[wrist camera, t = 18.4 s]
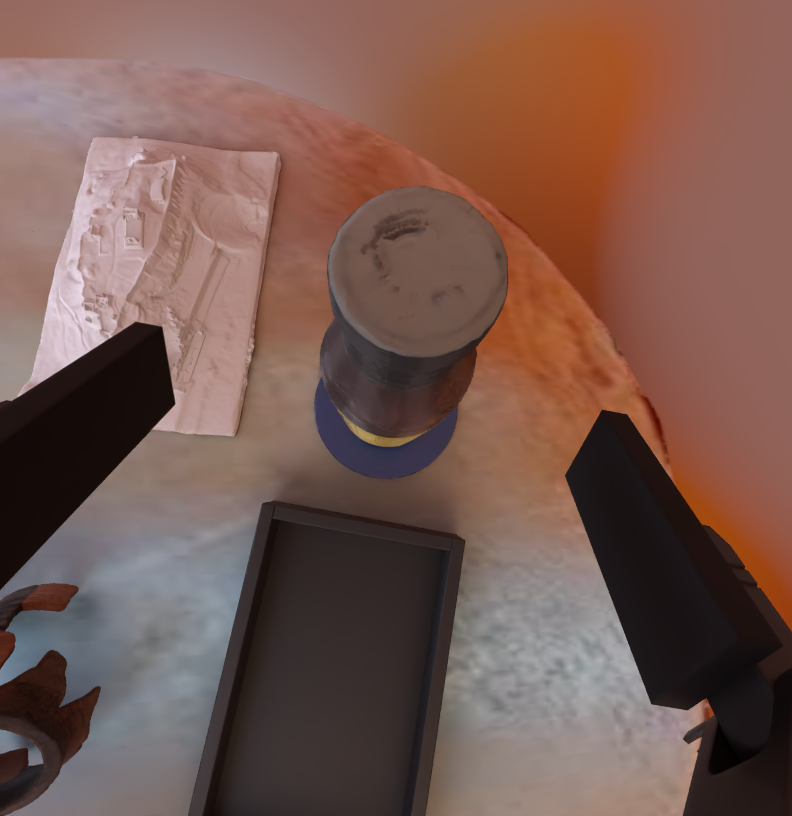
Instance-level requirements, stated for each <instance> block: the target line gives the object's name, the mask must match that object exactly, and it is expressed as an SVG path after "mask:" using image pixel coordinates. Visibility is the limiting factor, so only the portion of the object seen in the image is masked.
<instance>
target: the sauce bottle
mask: <svg viewBox="0 0 792 816" xmlns="http://www.w3.org/2000/svg"><path fill="white" fill-rule="evenodd" d="M327 276H328V284H329V293H330V299H331V306H332V311H333V314H334V316H335V318H334V320H333V321H332V322H331V324H330V325H329V327H328V329H327V331H326V333H325V335H324V338H323V341H322V344H321V350H320V370H321V375H322V379H323V383H324V386H325V388H326V390H327V393H328V395H329V397H330V399H331V400H332V402H333V403H334V405H335V407H336V408H337V410H338V412H339V414H340V415H341V416H342V418H343V419H344V421H345V422H346V424H347V425H348V427H349V428H350V430H351V431H352V432H353V433H354V434H355V435H356V436H358V437H359V438H360V439H362V440H363V441H365V442H368V443H370V444H373V445H377V446H382V447H395V446H401V445H403V444H405V443H408V442H410V441H412V440H413V439H415V438H417V437H418V436H420V435H422V434H424V433H425V432H427V431H428V430H430V429H431V428H433V427H435V426H436V425H437V424H438V423H440V422H441V421H442V420H443V419H444V418H445V417H446V416H447V415H448V414H449V413H451V412H452V410H453V409H454V408H455V407H456V406H457V405H458V404H459V402H460V401H461V399H462V398H463V396H464V394H465V392H466V391H467V389H468V387H469V385H470V382H471V380H472V377H473V373H474V368H475V362H476V356H477V352H476V347H477V346H478V344H479V343H480V342H481V341H482V339H483V338H484V337H485V336H486V334H487V333H488V332H489V330H490V329H491V327H492V326H493V325H494V323H495V321H496V320H497V318H498V316H499V314H500V312H501V310H502V308H503V305H504V302H505V299H506V296H507V290H508V260H507V254H506V251H505V248H504V245H503V242H502V240H501V238H500V236H499V235H498V233H497V231H496V230H495V228H494V226H493V225H492V224H491V223H490V222H489V221H487V220H486V219H485V218H484V217H483V216H482V214H481V213H480V212H479V211H478V210H477V209H476V208H475V207H474V206H472V205H471V204H470V203H469V202H467V201H466V200H465V199H463V198H461V197H459V196H456V195H454V194H452V193H449V192H446V191H442V190H438V189H434V188H430V187H426V186H418V187H401V188H398V189H390V190H388V191H386V192H383V193H381V194H379V195H378V196H376V197H375V198H373V199H371V200H369V201H367V202H366V203H364V204H363V205H362V206H361V207H359V208H358V209H357V210H356V211H354V212H353V213H352V214H351V215H350V216H349V217H348V219H347V220H346V221H345V222H344V223H343V225H342V226H341V228H340V229H339V231H338V233H337V235H336V237H335V240H334V242H333V244H332V246H331V248H330V251H329V255H328V266H327Z"/></svg>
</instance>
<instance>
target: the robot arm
mask: <svg viewBox="0 0 792 816" xmlns="http://www.w3.org/2000/svg"><path fill="white" fill-rule="evenodd" d="M175 404H176V403H175V397H174V392H173V386H172V380H171V374H170V368H169V362H168V356H167V351H166V345H165V339H164V333H163V327H162V326H156V325H151V324H146V323H140V322H134V323H133V324H131V325H130V326H128V327H127V328H125V329H123V330H122V331H120V332H119V333H117V334H116V335H114V336H113V337H111V338H109V339H108V340H106V341H105V342H103V343H102V344H100V345H99V346H97V347H95V348H94V349H92V350H91V351H89V352H88V353H86V354H84V355H83V356H81V357H80V358H78V359H77V360H75V361H74V362H72V363H70V364H69V365H67V366H66V367H64V368H63V369H61V370H60V371H58V372H56V373H55V374H53V375H52V376H50V377H49V378H47V379H45V380H44V381H42V382H41V383H39V384H38V385H36V386H35V387H33V388H31V389H30V390H28V391H27V392H25V393H24V394H22V395H21V396H19V397H17V398H16V399H14V400H13V401H8V400H6V401H3V402H1V403H0V590H1V589H2V588H3V587H4V586H5V584H6V583H7V582H8V581H9V580H10V579H11V578H12V577H13V576H14V575H15V574H16V573H17V572H18V571H19V570H20V569H21V568H22V566H23V565H24V564H25V563H26V562H27V561H28V560H29V559H30V558H31V557H32V556H33V555H34V554H35V553H36V552H37V551H38V550H39V548H40V547H41V546H42V545H43V544H44V543H45V542H46V541H47V540H48V539H49V538H50V537H51V536H52V535H53V534H54V533H55V532H56V530H57V529H58V528H59V527H60V526H61V525H62V524H63V523H64V522H65V521H66V520H67V519H68V518H69V517H70V516H71V515H72V514H73V512H74V511H75V510H76V509H77V508H78V507H79V506H80V505H81V504H82V503H83V502H84V501H85V500H86V499H87V498H88V497H89V496H90V494H91V493H92V492H93V491H94V490H95V489H96V488H97V487H98V486H99V485H100V484H101V483H102V482H103V481H104V480H105V479H106V478H107V476H108V475H109V474H110V473H111V472H112V471H113V470H114V469H115V468H116V467H117V466H118V465H119V464H120V463H121V462H122V461H123V459H124V458H125V457H126V456H127V455H128V454H129V453H130V452H131V451H132V450H133V449H134V448H135V447H136V446H137V445H138V444H139V443H140V441H141V440H142V439H143V438H144V437H145V436H146V435H147V434H148V433H149V432H150V431H151V430H152V429H153V428H154V427H155V426H156V425H157V423H158V422H159V421H160V420H161V419H162V418H163V417H164V416H165V415H166V414H167V413H168V412H169V411H170V410H171V409H172V408H173V407H174V405H175ZM565 477H566V479H567V482H568V485H569V487H570V490H571V493H572V495H573V498H574V501H575V503H576V506H577V509H578V511H579V514H580V517H581V519H582V522H583V524H584V527H585V530H586V532H587V535H588V538H589V540H590V543H591V546H592V548H593V551H594V554H595V556H596V559H597V562H598V564H599V567H600V569H601V572H602V575H603V577H604V580H605V583H606V585H607V588H608V591H609V593H610V596H611V599H612V601H613V604H614V607H615V609H616V612H617V614H618V617H619V620H620V622H621V625H622V628H623V630H624V633H625V636H626V638H627V641H628V644H629V646H630V649H631V652H632V654H633V657H634V659H635V662H636V665H637V667H638V670H639V673H640V675H641V678H642V681H643V683H644V686H645V689H646V691H647V694H648V697H649V699H650V702H651V704H653V705H659V706H665V707H671V708H677V709H683V710H689V709H690V708H692V707H693V706H695V705H696V704H698V703H699V702H701V701H702V700H704V699H705V698H707V700H708V702H709V704H710V706H711V708H712V710H713V712H714V716H712V717H711V718H709V719H708V720H706V721H704V722H703V723H701V724H699V725H698V726H696V727H695V728H693V729H691V730H690V731H688V732H687V734H686V735H685V736H684V738H683V740H684V741H686V742H687V743H688V744H690V743H691V742H693V741H695V740H696V739H698V738H700V737H702V740H701V744H700V748H699V750H698V751H697V752H698V756H697V760H696V764H695V768H694V772H693V776H692V780H691V784H690V788H689V792H688V796H687V800H686V804H685V808H684V813H683V816H792V632H791V630H790V629H789V628H788V626H787V625H786V623H785V622H784V620H783V619H782V618H781V616H780V615H779V613H778V612H777V611H776V609H775V608H774V606H773V605H772V604H771V602H770V601H769V599H768V598H767V596H766V595H765V594H764V592H763V591H762V590H761V588H758V587H757V582H756V581H755V580H754V578H753V577H752V575H751V574H750V573H749V571H747V570H745V569H744V568H745V566H744V564H743V563H742V561H741V560H740V559H739V557H738V556H737V554H736V553H735V552H734V550H733V549H732V547H731V546H730V545H729V544H728V543H727V542H726V541H725V540H724V539H723V538H722V537H720V536H719V535H718V534H717V533H716V532H715V531H714V530H713V529H712V528H711V527H710V526H706V525H702V524H701V523H700V521H699V520H698V519H697V517H696V516H695V514H694V513H693V511H692V510H691V509H690V507H689V505H688V504H687V503H686V501H685V499H684V498H683V496H682V495H681V493H680V492H679V490H678V489H677V488H676V486H675V485H674V483H673V482H672V480H671V479H670V477H669V476H668V474H667V473H666V471H665V470H664V468H663V467H662V465H661V464H660V462H659V461H658V459H657V458H656V457H655V455H654V454H653V452H652V451H651V449H650V448H649V446H648V445H647V443H646V442H645V440H644V439H643V437H642V436H641V434H640V433H639V431H638V430H637V428H636V427H635V425H634V424H633V423H632V421H631V420H630V418H629V417H628V415H627V414H622V413H617V412H612V411H606V410H602V411H601V413H600V415H599V416H598V418H597V420H596V422H595V423H594V425H593V427H592V429H591V430H590V432H589V434H588V436H587V438H586V439H585V441H584V443H583V445H582V446H581V448H580V450H579V452H578V453H577V455H576V457H575V459H574V460H573V462H572V464H571V466H570V468H569V469H568V471H567V473H566V475H565Z"/></svg>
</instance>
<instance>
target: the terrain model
mask: <svg viewBox="0 0 792 816" xmlns="http://www.w3.org/2000/svg"><path fill="white" fill-rule="evenodd" d="M132 137H133V139H129V138H115V137H94V139H93V141H91V145H90V149H88V157H87V161H86V165H85V169H84V175H83V181H82V182H81V187H80V190H79V193H78V194H77V197H76V205H75V209H74V210H72V212H73V218H72V221H71V225H70V227H69V230H68V231H67V235H66V236H65V237H64V238H65V241H64V244H63V246H62V249H61V252H60V256H59V258H58V261H57V264H56V267H55V274H54V278H53V282H52V286H51V290H50V294H49V298H48V307H47V310H46V314H45V321H44V325H43V329H42V336H41V342H40V346H39V348H38V351H37V353H36V358H35V366H34V370H33V374H32V376H31V378H30V381H29V382H28V383H27V384H26V385H25V386H23V388H22V390H21V392H20V393H19V394H18V397H19V396H21V395H22V394H24V393H25V392H27V391H28V390H30V389H31V388H33V387H35V386H36V385H38V384H39V383H41V382H42V381H44V380H45V379H47V378H49V377H50V376H52V375H53V374H55V373H56V372H58V371H60V370H61V369H63V368H64V367H66V366H67V365H69V364H70V363H72V362H74V361H75V360H77V359H78V358H80V357H81V356H83V355H84V354H86V353H88V352H89V351H91V350H92V349H94V348H95V347H97V346H99V345H100V344H102V343H103V342H105V341H106V340H108V339H109V338H111V337H113V336H114V335H116V334H117V333H119V332H120V331H122V330H123V329H125V328H127V327H128V326H130V325H131V324H133V323H134V322H140V323H146V324H151V325H156V326H162V327H163V333H164V339H165V345H166V351H167V356H168V362H169V368H170V374H171V380H172V386H173V392H174V397H175V403H176V404H175V405H174V407H173V408H172V409H171V410H170V411H169V412H168V413H167V414H166V415H165V416H164V417H163V418H162V419H161V420H160V421H159V422H158V423H157V425H156V426H155V427H154V428H153V429H152V430H151V431H154V430H163V431H172V432H180V433H182V434H192V435H193V434H194V435H198V434H199V435H217V436H218V435H220V436H223V435H224V436H230V437H235V434H236V432H237V429H238V426H239V420H240V417H241V409H242V406H243V402H244V395H245V394H244V393H245V388H246V385H247V384H248V380H247V374H248V368H249V363H251V361H250V360H252V358H251V356H252V352H253V349H254V341H255V339H254V338H253V337H254V331H255V329H254V328H255V320H256V318H257V316H256V314H257V313H256V311H257V308H258V300H259V295H260V290H261V284H262V278H263V271H264V266H265V259H266V258H265V257H266V250H267V249H266V248H267V244H268V237H269V233H270V227H271V226H270V225H271V221H272V214H273V205H274V201H275V199H276V198H275V195H276V191H277V188H278V183H277V182H278V177H279V174H280V172H279V171H280V169H281V161H280V159H279V156H280V155H279V154H278V153H276V152H275V151H274V152H259V151H252V152H241V151H228V150H226V151H225V150H219V149H216V148H210V147H204V146H194V145H190V144H186V143H177V142H169V141H162V140H153V139H144V138H138V136H132ZM73 197H74V196H73ZM33 232H34V231H33ZM180 347H181V348H180Z"/></svg>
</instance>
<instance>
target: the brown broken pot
mask: <svg viewBox="0 0 792 816" xmlns="http://www.w3.org/2000/svg"><path fill="white" fill-rule="evenodd" d="M78 589H79V588H78V587H76V586H74V585H68V584H56V583H52V584H42V585H34V586H30V587H26V588H23V589H20V590H18V591H15V592H13V593H12V594H10V595H8V596H6V597H5V598H4V599H2V600H1V601H0V669H1V668H2V666H3V665H4V663H5V662H6V660H7V659H8V658H9V657H10V655H11V654H12V653H13V651H14V648H15V645H14V644H15V641H16V639H15V635H14V634H13V633H10V632H7V631H5V630H6V629H7V628H8V627H9V625H10V623H11V621H12V620H13V618H14V617H15V616H16V615H17V614H19V613H20V612H21V611H29V610H45V611H56V612H59V611H62V610H64V609H65V608H66V606H67V604H68V603H69V601H70V598H72V597H73V596H74V595H75V594H76V593H77V592H78ZM66 667H67V661H66V659H65V658H64V657H63V656H62V655H61V654H60V653H58V652H57V651H54V650H50V651H48V652H47V653H46V654H45V656H44V657H43V658H42V659H41V660H40V661H39V663H38V664H37V666H36V667H33V668H31V669H29V670H27V671H25V672H24V673H22V674H21V675H19V676H18V677H16V678H15V679H13V680H11V681H10V682H8V683H5V684H3V685H1V686H0V729H2V730H6V731H10V732H13V733H15V734H18V735H21V736H23V737H25V738H27V739H29V740H31V741H32V742H33V743H34V744H35V745H37V747H38V748H39V750H40V751H41V754H42V758H43V763H44V764H40V765H35V766H28V764H29V762H28V749H27V748H21V749H17V750H12V751H9V752H6V753H3V754H0V816H5V815H7V814H10V813H12V812H14V811H16V810H18V809H20V808H23V807H24V806H26V805H28V804H29V803H31V802H33V801H34V800H35V799H37V798H38V797H39V796H40V795H42V794H43V793H44V792H45V791H46V790H47V789H48V787H49V786H50V784H52V783H53V782H54V780H55V779H56V777H57V776H58V775H59V772H60V769H61V767H62V765H63V764H64V763H66V762H67V761H68V760H70V759H71V758H72V757H73V756H74V755H75V754H76V753H77V752H78V751H79V750H80V748H81V747H82V743H83V742H84V741H85V740H86V739H87V737H88V734H89V726H90V720H91V716H92V713H93V710H94V707H95V705H96V703H97V700H98V697H99V693H100V690H101V687H100V686H97V687H95V688H94V689H93V690H92V691H90V692H89V693H88V694H86V695H85V696H83V697H81V698H79V699H77V700H75V701H73V702H70V703H68V704H66V705H64V706H62V707H60V708H59V706H60V704H61V702H62V700H63V699H64V697H65V694H66V677H65V670H66ZM27 766H28V767H27Z"/></svg>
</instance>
